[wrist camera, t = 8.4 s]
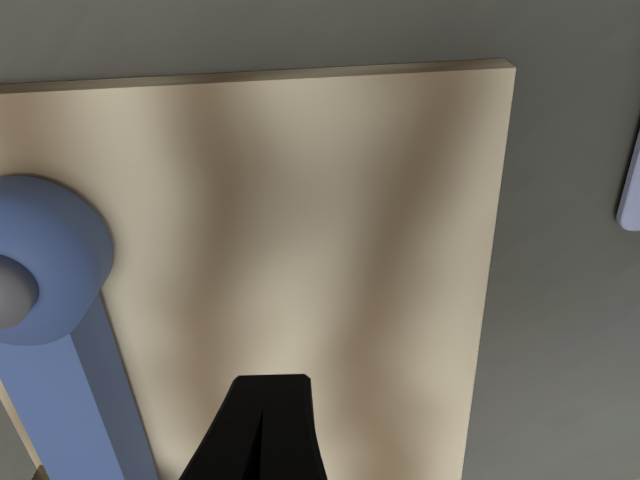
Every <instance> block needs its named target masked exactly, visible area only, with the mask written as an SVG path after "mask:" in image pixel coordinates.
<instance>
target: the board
mask: <svg viewBox="0 0 640 480" xmlns="http://www.w3.org/2000/svg"><path fill="white" fill-rule="evenodd" d="M515 74H516V67H515V66H513V65H512V64H511V63H510V62H508V61H507V60H506V59H505V58H502V59H482V60H463V61H444V62H424V63H405V64H386V65H366V66H347V67H328V68H308V69H289V70H270V71H250V72H231V73H212V74H192V75H173V76H154V77H134V78H115V79H96V80H76V81H57V82H38V83H18V84H0V178H1V177H6V176H29V177H36V178H39V179H43V180H47V181H49V182H52V183H55V184H57V185H59V186H61V187H63V188H65V189H67V190H69V191H70V192H72V193H74V194H75V195H77V196H78V197H79V198H81V199H82V200H83V201H84V202H86V203H87V204H88V205H89V206H90V207H91V208H92V209H93V210H94V211H95V213H96V214H97V215H98V216H99V218H100V219H101V220H102V222H103V223H104V225H105V227H106V229H107V231H108V233H109V236H110V238H111V241H112V246H113V256H114V257H113V265H112V269H111V272H110V274H109V276H108V278H107V279H106V281H105V283H104V284H103V286H102V287H101V289H100V291H99V294H100V297H101V301H102V304H103V307H104V310H105V313H106V316H107V319H108V322H109V325H110V328H111V332H112V335H113V338H114V341H115V344H116V347H117V350H118V353H119V356H120V360H121V363H122V366H123V369H124V372H125V375H126V378H127V381H128V384H129V388H130V391H131V394H132V397H133V400H134V403H135V406H136V409H137V412H138V416H139V419H140V422H141V425H142V428H143V431H144V434H145V437H146V440H147V443H148V447H149V450H150V453H151V456H152V459H153V462H154V465H155V468H156V471H157V475H158V478H159V480H178V479H179V478H180V476H181V475H182V473H183V471H184V470H185V468H186V466H187V465H188V463H189V461H190V460H191V458H192V456H193V455H194V453H195V451H196V450H197V448H198V446H199V445H200V443H201V441H202V439H203V438H204V436H205V434H206V432H207V431H208V429H209V427H210V425H211V423H212V422H213V420H214V418H215V416H216V414H217V412H218V410H219V408H220V406H221V405H222V403H223V401H224V399H225V397H226V395H227V392H228V390H229V388H230V386H231V384H232V382H233V380H234V379H235V378H236V377H237V376H238V375H273V374H305V375H307V376H308V377H310V378H311V388H312V399H313V410H314V422H315V431H316V436H317V441H318V445H319V449H320V454H321V457H322V461H323V464H324V468H325V472H326V475H327V479H328V480H461V475H462V468H463V460H464V453H465V446H466V438H467V431H468V423H469V416H470V408H471V401H472V394H473V386H474V379H475V371H476V364H477V356H478V349H479V341H480V334H481V327H482V319H483V312H484V304H485V297H486V289H487V282H488V275H489V267H490V260H491V252H492V245H493V237H494V230H495V223H496V215H497V208H498V200H499V193H500V185H501V178H502V170H503V163H504V156H505V148H506V141H507V133H508V126H509V118H510V111H511V104H512V96H513V89H514V81H515ZM0 399H1V401H2V403H3V405H4V407H5V409H6V411H7V413H8V415H9V416H10V418H11V420H12V422H13V424H14V426H15V428H16V430H17V432H18V434H19V436H20V437H21V439H22V441H23V443H24V445H25V447H26V449H27V451H28V453H29V455H30V456H31V458H32V460H33V462H34V464H35V466H36V468H37V469H38V467H39V465H43V464H42V462H41V460H40V458H39V456H38V454H37V452H36V450H35V448H34V446H33V444H32V442H31V440H30V438H29V436H28V434H27V432H26V430H25V428H24V426H23V424H22V422H21V420H20V418H19V416H18V414H17V412H16V410H15V408H14V406H13V404H12V402H11V400H10V398H9V396H8V394H7V392H6V390H5V388H4V385H3V383H2V381H1V379H0Z"/></svg>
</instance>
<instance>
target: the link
mask: <svg viewBox="0 0 640 480" xmlns="http://www.w3.org/2000/svg"><path fill="white" fill-rule="evenodd" d="M113 257H114V256H113V246H112V241H111V238H110V236H109V233H108V231H107V229H106V227H105V225H104V223H103V222H102V220H101V219H100V218H99V216H98V215H97V214H96V213H95V211H94V210H93V209H92V208H91V207H90V206H89V205H88V204H87V203H86V202H84V201H83V200H82V199H81V198H79V197H78V196H77V195H75V194H74V193H72V192H70V191H69V190H67V189H65V188H63V187H61V186H59V185H57V184H55V183H52V182H49V181H47V180H43V179H39V178H36V177H29V176H6V177H1V178H0V379H1V381H2V383H3V385H4V388H5V390H6V392H7V394H8V396H9V398H10V400H11V402H12V404H13V406H14V408H15V410H16V412H17V414H18V416H19V418H20V420H21V422H22V424H23V426H24V428H25V430H26V432H27V434H28V436H29V438H30V440H31V442H32V444H33V446H34V448H35V450H36V452H37V454H38V456H39V458H40V460H41V462H42V464H43V466H44V468H45V471H46V473H47V475H48V477H49V479H50V480H159V478H158V475H157V471H156V468H155V465H154V462H153V459H152V456H151V453H150V450H149V447H148V443H147V440H146V437H145V434H144V431H143V428H142V425H141V422H140V419H139V416H138V412H137V409H136V406H135V403H134V400H133V397H132V394H131V391H130V388H129V384H128V381H127V378H126V375H125V372H124V369H123V366H122V363H121V360H120V356H119V353H118V350H117V347H116V344H115V341H114V338H113V335H112V332H111V328H110V325H109V322H108V319H107V316H106V313H105V310H104V307H103V304H102V301H101V297H100V294H99V291H100V289H101V287H102V286H103V284H104V283H105V281H106V279H107V278H108V276H109V274H110V272H111V269H112V265H113Z"/></svg>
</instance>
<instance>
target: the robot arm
mask: <svg viewBox="0 0 640 480" xmlns="http://www.w3.org/2000/svg"><path fill="white" fill-rule="evenodd" d="M616 220H617V222H618V224H619V225H620V226H621V227H622V228H624V229H625V230H628V231H640V130H639V133H638V137H637V141H636V145H635V148H634V152H633V156H632V160H631V163H630V167H629V171H628V175H627V178H626V182H625V186H624V189H623V193H622V197H621V201H620V204H619V208H618V212H617V219H616ZM178 480H328V479H327V475H326V472H325V468H324V464H323V461H322V457H321V454H320V449H319V445H318V441H317V436H316V431H315V422H314V410H313V399H312V388H311V378H310V377H308V376H307V375H305V374H273V375H238V376H237V377H236V378H235V379H234V380H233V382H232V384H231V386H230V388H229V390H228V392H227V395H226V397H225V399H224V401H223V403H222V405H221V406H220V408H219V410H218V412H217V414H216V416H215V418H214V420H213V422H212V423H211V425H210V427H209V429H208V431H207V432H206V434H205V436H204V438H203V439H202V441H201V443H200V445H199V446H198V448H197V450H196V451H195V453H194V455H193V456H192V458H191V460H190V461H189V463H188V465H187V466H186V468H185V470H184V471H183V473H182V475H181V476H180V478H179V479H178Z"/></svg>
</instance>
